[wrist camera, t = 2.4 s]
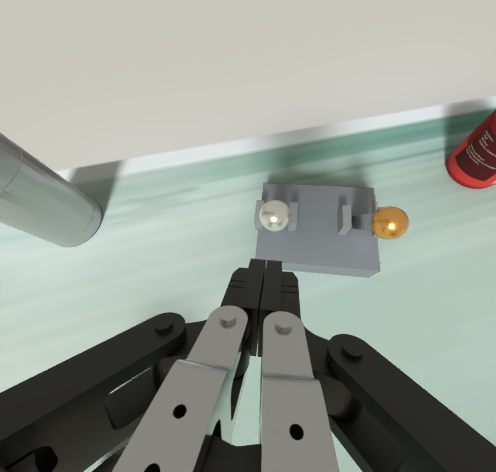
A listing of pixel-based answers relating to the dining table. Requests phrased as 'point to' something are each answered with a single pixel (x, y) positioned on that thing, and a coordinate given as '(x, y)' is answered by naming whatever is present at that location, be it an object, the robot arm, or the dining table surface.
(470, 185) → the canned food
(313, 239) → the console
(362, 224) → the lever orange
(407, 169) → the dining table surface
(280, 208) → the lever white
